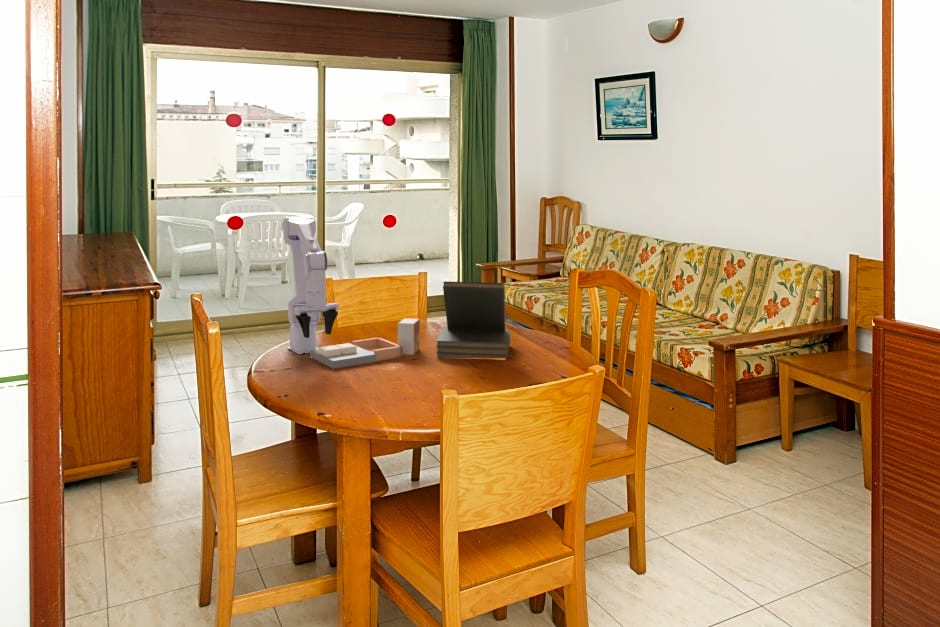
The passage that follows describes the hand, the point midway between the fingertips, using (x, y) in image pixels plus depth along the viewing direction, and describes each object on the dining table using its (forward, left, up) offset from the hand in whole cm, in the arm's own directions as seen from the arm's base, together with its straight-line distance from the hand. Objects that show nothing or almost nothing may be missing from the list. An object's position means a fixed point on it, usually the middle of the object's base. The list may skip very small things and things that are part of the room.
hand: (317, 335), depth 243 cm
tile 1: (-2, +5, -7) cm, 9 cm away
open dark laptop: (+13, +51, -10) cm, 53 cm away
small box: (0, +33, -10) cm, 34 cm away
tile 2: (-2, +11, -7) cm, 13 cm away
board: (-2, +10, -10) cm, 14 cm away
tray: (-2, +22, -10) cm, 24 cm away
